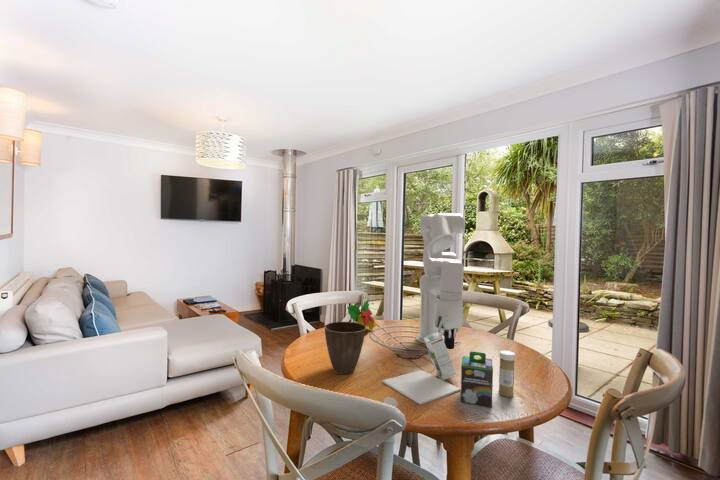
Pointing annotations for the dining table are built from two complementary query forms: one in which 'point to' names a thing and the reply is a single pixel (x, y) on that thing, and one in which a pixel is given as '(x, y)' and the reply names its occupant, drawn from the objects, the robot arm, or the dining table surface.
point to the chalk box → (477, 379)
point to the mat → (421, 386)
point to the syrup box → (439, 356)
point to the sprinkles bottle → (506, 373)
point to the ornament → (362, 316)
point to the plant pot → (344, 345)
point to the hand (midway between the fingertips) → (449, 347)
